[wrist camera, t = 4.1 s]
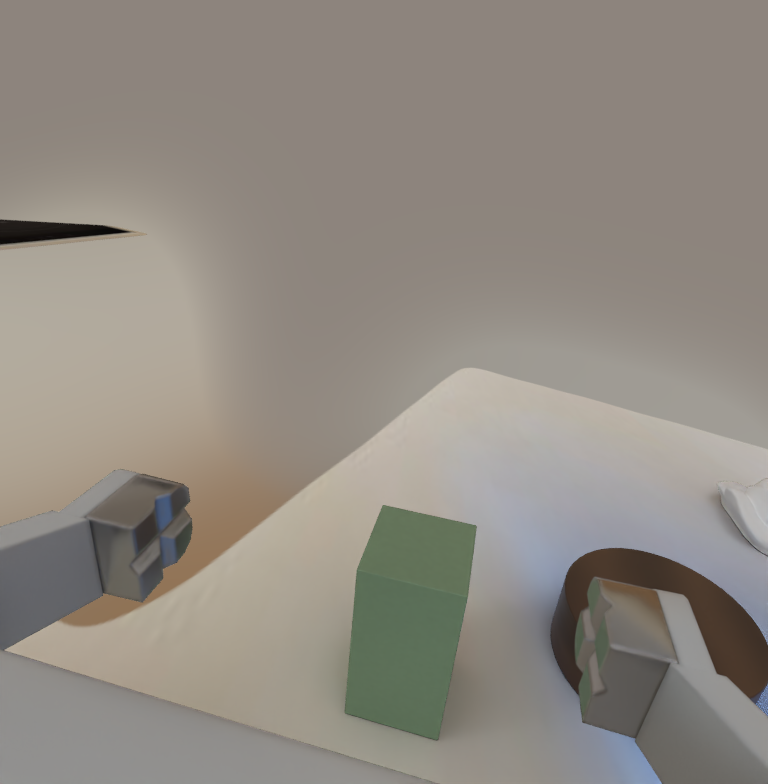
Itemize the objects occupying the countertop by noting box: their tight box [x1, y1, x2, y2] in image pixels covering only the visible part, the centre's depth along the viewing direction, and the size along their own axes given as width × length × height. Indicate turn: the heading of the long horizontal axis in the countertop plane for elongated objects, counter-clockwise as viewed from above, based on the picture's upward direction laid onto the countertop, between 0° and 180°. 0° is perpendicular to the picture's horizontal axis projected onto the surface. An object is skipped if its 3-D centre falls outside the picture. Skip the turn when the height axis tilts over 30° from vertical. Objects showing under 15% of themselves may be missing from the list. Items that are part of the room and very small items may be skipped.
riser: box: [551, 548, 768, 705], centre depth 32 cm, size 11×11×4 cm
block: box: [345, 505, 477, 740], centre depth 28 cm, size 5×5×10 cm
